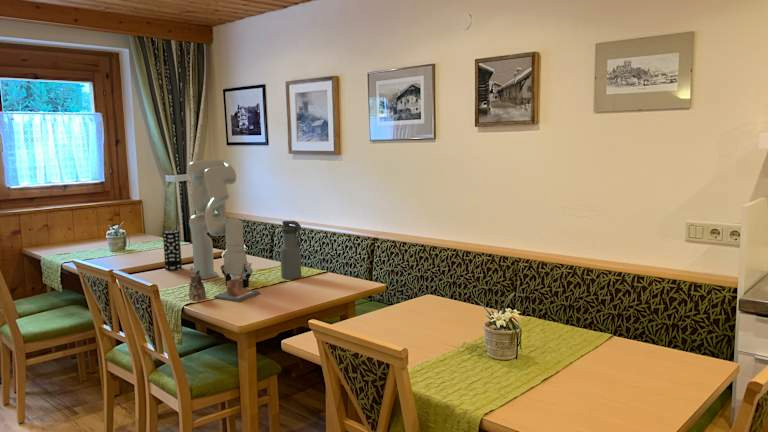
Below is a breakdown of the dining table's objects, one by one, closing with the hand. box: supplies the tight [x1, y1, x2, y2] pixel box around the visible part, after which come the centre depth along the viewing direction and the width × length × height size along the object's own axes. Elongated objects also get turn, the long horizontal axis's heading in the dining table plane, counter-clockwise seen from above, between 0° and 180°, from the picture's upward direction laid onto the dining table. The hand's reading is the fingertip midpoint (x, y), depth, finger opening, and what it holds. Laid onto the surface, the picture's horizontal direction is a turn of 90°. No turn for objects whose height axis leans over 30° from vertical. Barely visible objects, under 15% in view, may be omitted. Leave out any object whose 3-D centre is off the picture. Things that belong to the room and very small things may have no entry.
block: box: [226, 277, 248, 296], centre depth 266 cm, size 6×6×6 cm
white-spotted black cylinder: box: [162, 229, 183, 272], centre depth 315 cm, size 8×8×20 cm
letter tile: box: [213, 289, 261, 303], centre depth 266 cm, size 14×14×1 cm
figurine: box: [188, 270, 207, 301], centre depth 263 cm, size 7×7×12 cm
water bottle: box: [279, 220, 302, 280], centre depth 295 cm, size 10×10×28 cm
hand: (237, 286), depth 265 cm, fingers open, 9 cm apart
